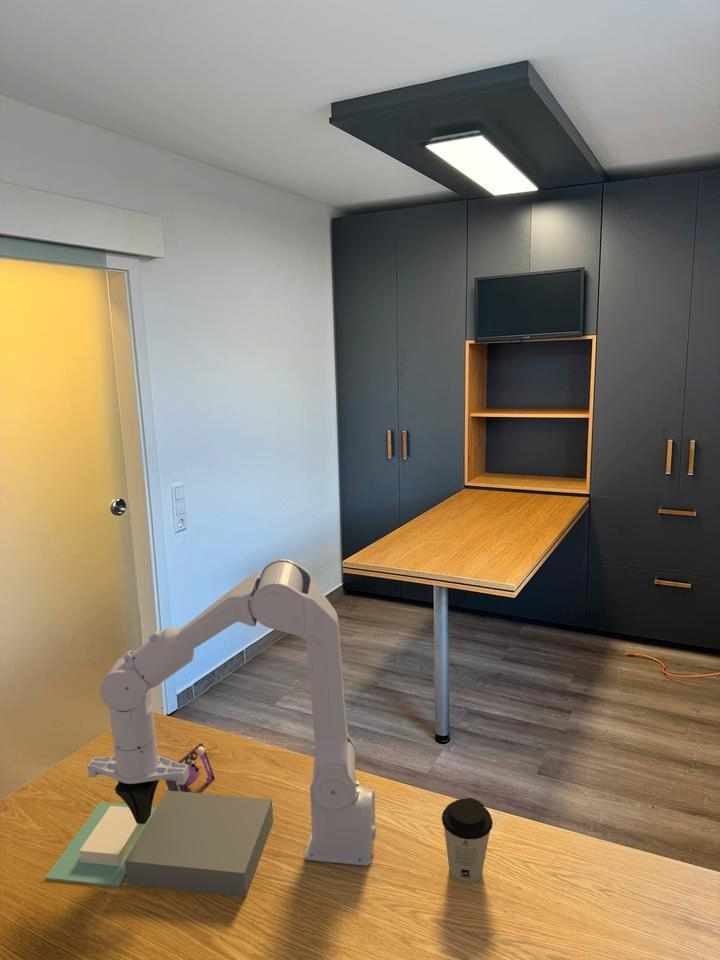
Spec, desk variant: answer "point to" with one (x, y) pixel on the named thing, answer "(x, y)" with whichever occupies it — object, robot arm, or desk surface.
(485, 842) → the coffee cup
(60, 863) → the mat
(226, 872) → the plate
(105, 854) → the beige rectangular block
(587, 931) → the desk surface
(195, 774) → the game card
